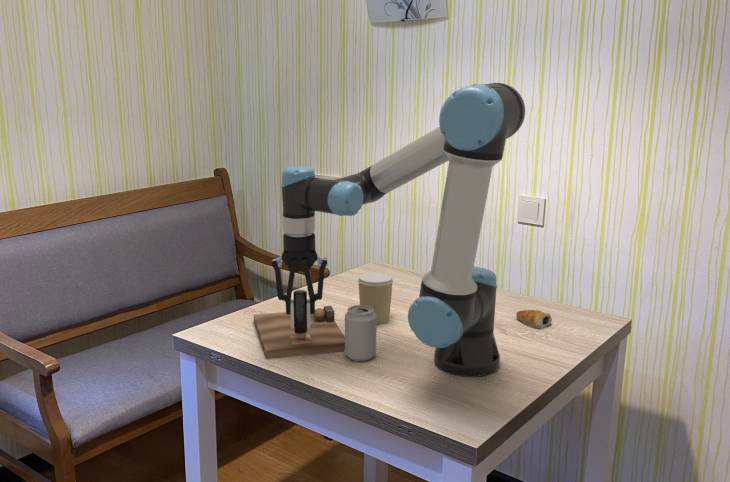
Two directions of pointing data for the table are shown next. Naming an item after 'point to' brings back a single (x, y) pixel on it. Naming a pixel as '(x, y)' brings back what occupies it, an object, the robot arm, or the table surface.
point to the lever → (300, 313)
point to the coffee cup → (376, 294)
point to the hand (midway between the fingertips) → (300, 326)
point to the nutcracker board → (283, 339)
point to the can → (360, 333)
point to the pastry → (534, 318)
